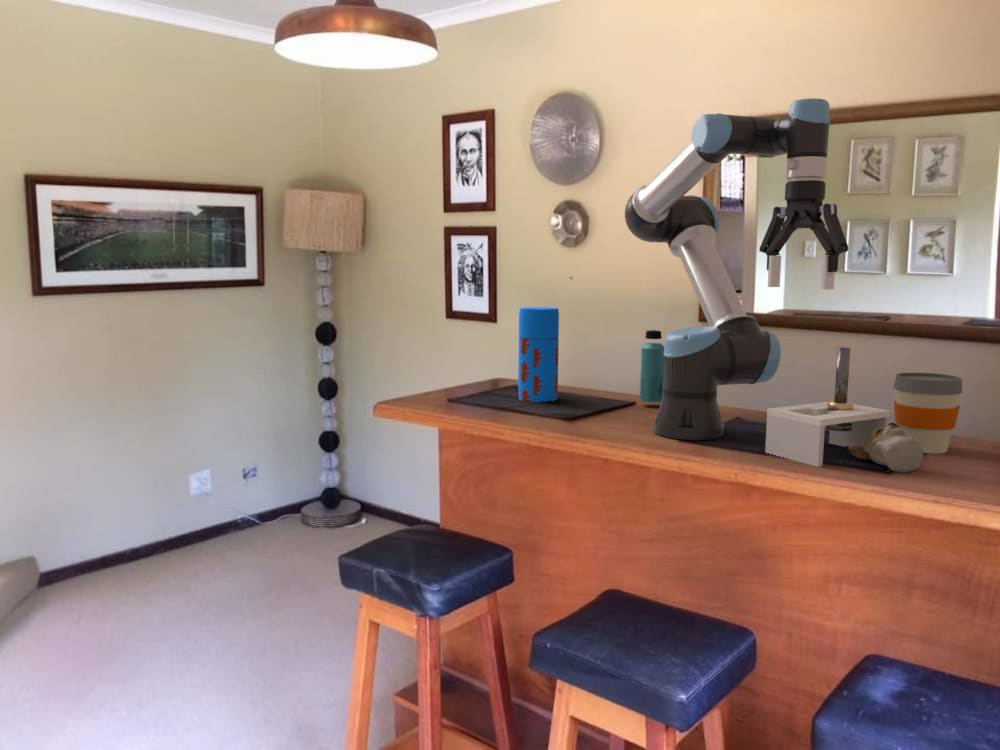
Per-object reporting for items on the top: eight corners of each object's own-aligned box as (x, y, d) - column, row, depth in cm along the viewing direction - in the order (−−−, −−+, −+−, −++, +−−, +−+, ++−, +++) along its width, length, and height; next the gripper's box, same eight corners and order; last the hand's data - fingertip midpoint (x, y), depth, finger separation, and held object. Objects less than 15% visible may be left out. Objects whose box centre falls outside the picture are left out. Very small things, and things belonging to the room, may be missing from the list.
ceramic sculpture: (886, 428, 149) (843, 417, 164) (883, 476, 150) (841, 461, 164) (942, 427, 150) (895, 417, 165) (939, 475, 151) (893, 460, 165)
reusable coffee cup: (882, 440, 179) (887, 371, 177) (944, 443, 177) (950, 373, 175) (899, 454, 167) (904, 380, 165) (967, 456, 165) (973, 382, 163)
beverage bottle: (660, 409, 215) (663, 331, 212) (635, 406, 218) (638, 330, 215) (667, 405, 221) (669, 329, 218) (642, 403, 224) (645, 328, 221)
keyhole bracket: (817, 467, 156) (820, 419, 155) (765, 452, 167) (767, 408, 166) (887, 455, 166) (890, 410, 165) (832, 442, 177) (835, 400, 176)
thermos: (541, 394, 237) (542, 306, 233) (565, 400, 228) (567, 308, 225) (510, 398, 231) (511, 307, 227) (533, 403, 222) (534, 309, 218)
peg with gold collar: (820, 427, 169) (825, 347, 166) (837, 425, 171) (842, 346, 169) (840, 432, 164) (846, 349, 162) (857, 429, 167) (862, 348, 164)
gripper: (745, 184, 175) (740, 286, 177) (846, 174, 153) (838, 290, 156) (770, 186, 178) (765, 285, 181) (872, 176, 157) (865, 290, 160)
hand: (799, 288), depth 169 cm, fingers open, 13 cm apart
